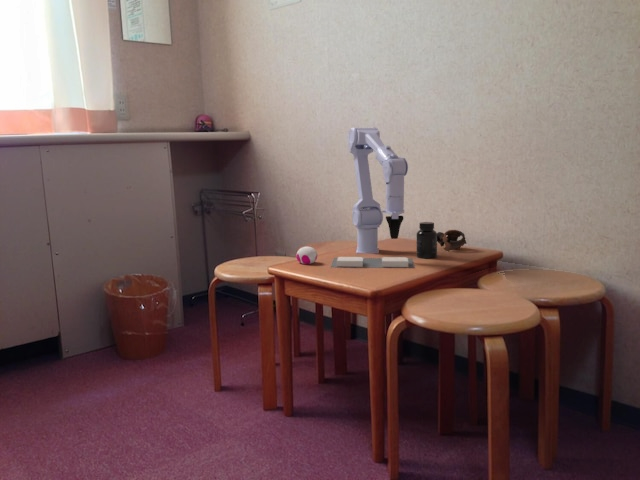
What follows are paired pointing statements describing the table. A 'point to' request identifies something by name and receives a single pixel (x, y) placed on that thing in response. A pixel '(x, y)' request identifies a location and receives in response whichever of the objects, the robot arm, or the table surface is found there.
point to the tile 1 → (350, 262)
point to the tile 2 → (394, 262)
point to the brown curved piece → (451, 239)
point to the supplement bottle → (426, 241)
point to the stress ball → (306, 255)
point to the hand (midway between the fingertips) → (394, 238)
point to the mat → (374, 263)
